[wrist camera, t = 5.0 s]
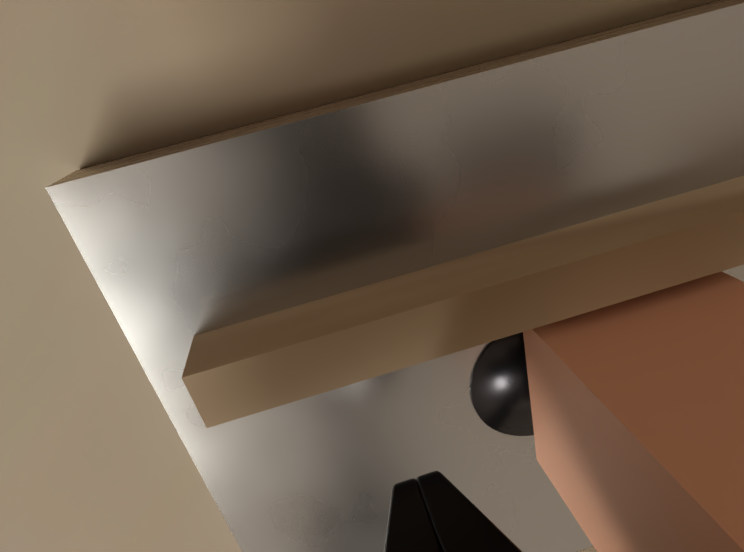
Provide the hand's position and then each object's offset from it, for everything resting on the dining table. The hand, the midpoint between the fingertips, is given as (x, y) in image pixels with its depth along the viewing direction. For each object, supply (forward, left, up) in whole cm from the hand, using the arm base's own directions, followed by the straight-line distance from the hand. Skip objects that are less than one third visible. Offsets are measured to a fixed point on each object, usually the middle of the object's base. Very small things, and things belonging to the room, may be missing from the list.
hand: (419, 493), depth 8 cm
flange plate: (0, -6, -3) cm, 7 cm away
